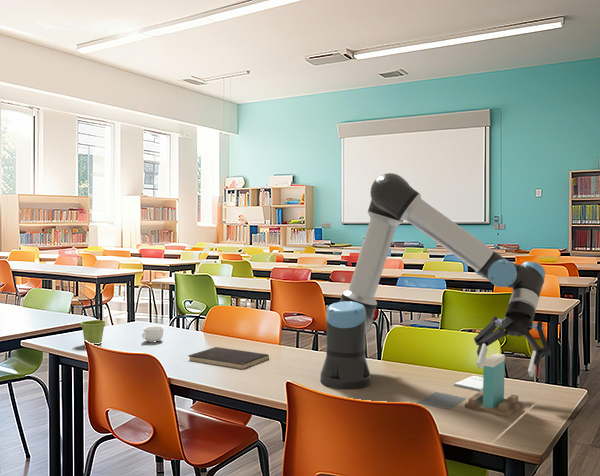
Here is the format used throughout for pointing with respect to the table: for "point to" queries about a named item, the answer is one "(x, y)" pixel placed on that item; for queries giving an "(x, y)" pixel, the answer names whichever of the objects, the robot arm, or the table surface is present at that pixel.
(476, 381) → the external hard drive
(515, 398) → the rack
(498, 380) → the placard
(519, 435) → the table surface
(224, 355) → the hardcover book
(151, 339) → the teacup
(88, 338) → the plant pot
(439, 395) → the mat
